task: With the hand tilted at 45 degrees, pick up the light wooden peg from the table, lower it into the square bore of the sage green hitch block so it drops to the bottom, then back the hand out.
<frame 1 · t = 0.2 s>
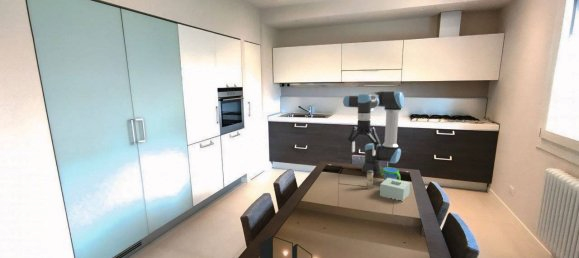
hand: (363, 153, 160), 28 cm above the table, tool pointing down, fingers open, 13 cm apart
wooden peg: (369, 188, 176), on the table
snack cup: (390, 183, 185), on the table
hitch block: (394, 195, 165), on the table
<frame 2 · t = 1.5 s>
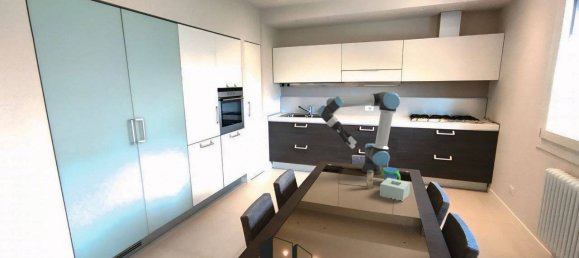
hand: (354, 145, 184), 27 cm above the table, tool tilted 45°, fingers open, 13 cm apart
nothing on the table moved.
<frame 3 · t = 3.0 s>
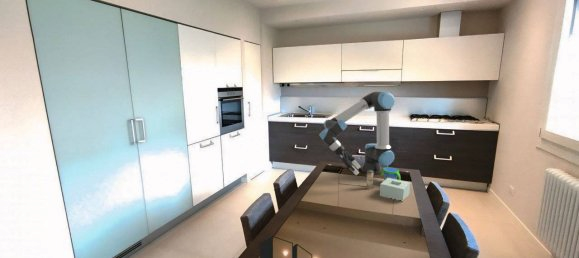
hand: (358, 170, 176), 12 cm above the table, tool tilted 45°, fingers open, 13 cm apart
nothing on the table moved.
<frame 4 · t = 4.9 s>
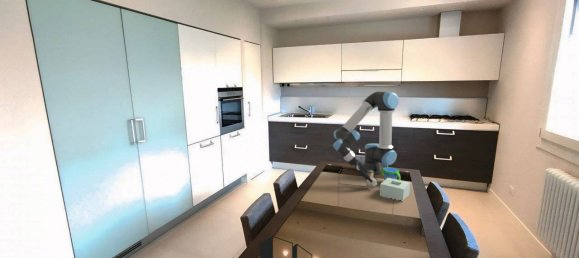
hand: (375, 184, 175), 3 cm above the table, tool tilted 45°, fingers closed on wooden peg, 4 cm apart
wooden peg: (369, 188, 176), on the table, touching gripper
everything else where it was.
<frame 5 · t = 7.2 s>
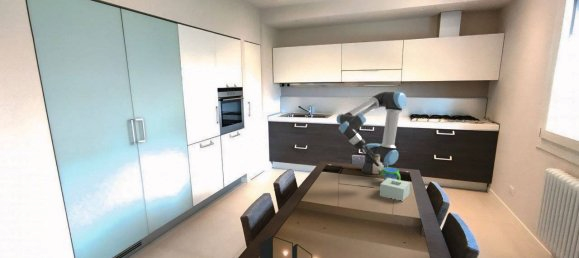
hand: (382, 168, 168), 16 cm above the table, tool tilted 45°, fingers closed on wooden peg, 4 cm apart
wooden peg: (375, 172, 170), point 12 cm above the table, touching gripper
everything else where it was.
when the fingers open (10 cm above the table, at t = 9.7 s): wooden peg drops 6 cm, resting on hitch block.
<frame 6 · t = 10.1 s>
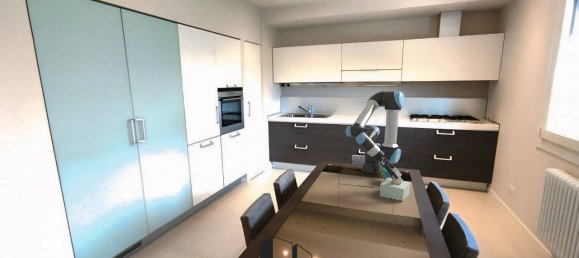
hand: (400, 179, 162), 11 cm above the table, tool tilted 45°, fingers open, 10 cm apart
wooden peg: (394, 193, 165), point 1 cm above the table, touching hitch block
everything else where it was.
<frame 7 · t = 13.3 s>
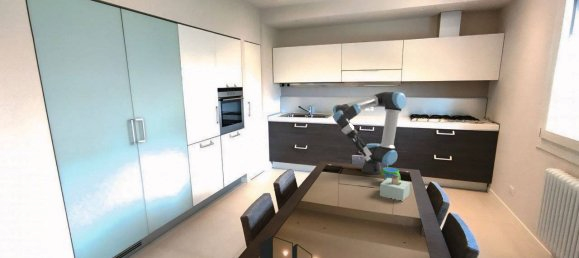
hand: (369, 157, 169), 23 cm above the table, tool tilted 40°, fingers open, 13 cm apart
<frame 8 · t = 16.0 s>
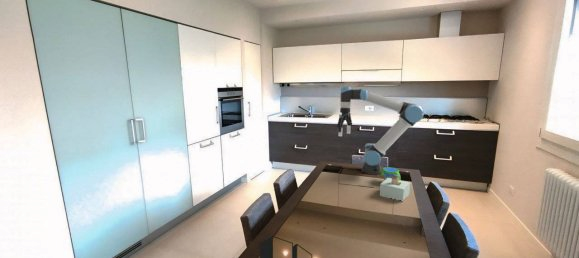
hand: (344, 134, 198), 32 cm above the table, tool pointing down, fingers open, 13 cm apart
nothing on the table moved.
at the end: wooden peg 0.1 cm off-centre on the hitch block, point 1.0 cm above the hitch block's base; wooden peg tilted 1°; the gripper is holding nothing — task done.
